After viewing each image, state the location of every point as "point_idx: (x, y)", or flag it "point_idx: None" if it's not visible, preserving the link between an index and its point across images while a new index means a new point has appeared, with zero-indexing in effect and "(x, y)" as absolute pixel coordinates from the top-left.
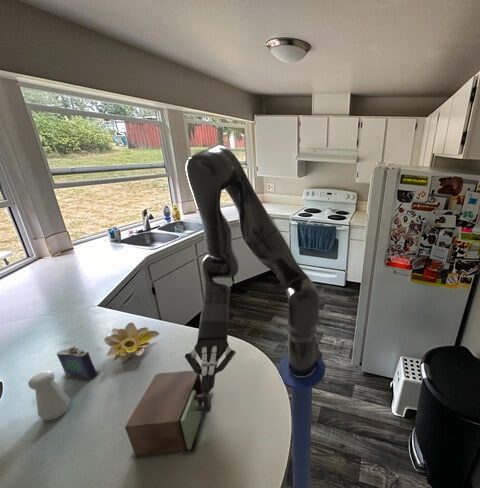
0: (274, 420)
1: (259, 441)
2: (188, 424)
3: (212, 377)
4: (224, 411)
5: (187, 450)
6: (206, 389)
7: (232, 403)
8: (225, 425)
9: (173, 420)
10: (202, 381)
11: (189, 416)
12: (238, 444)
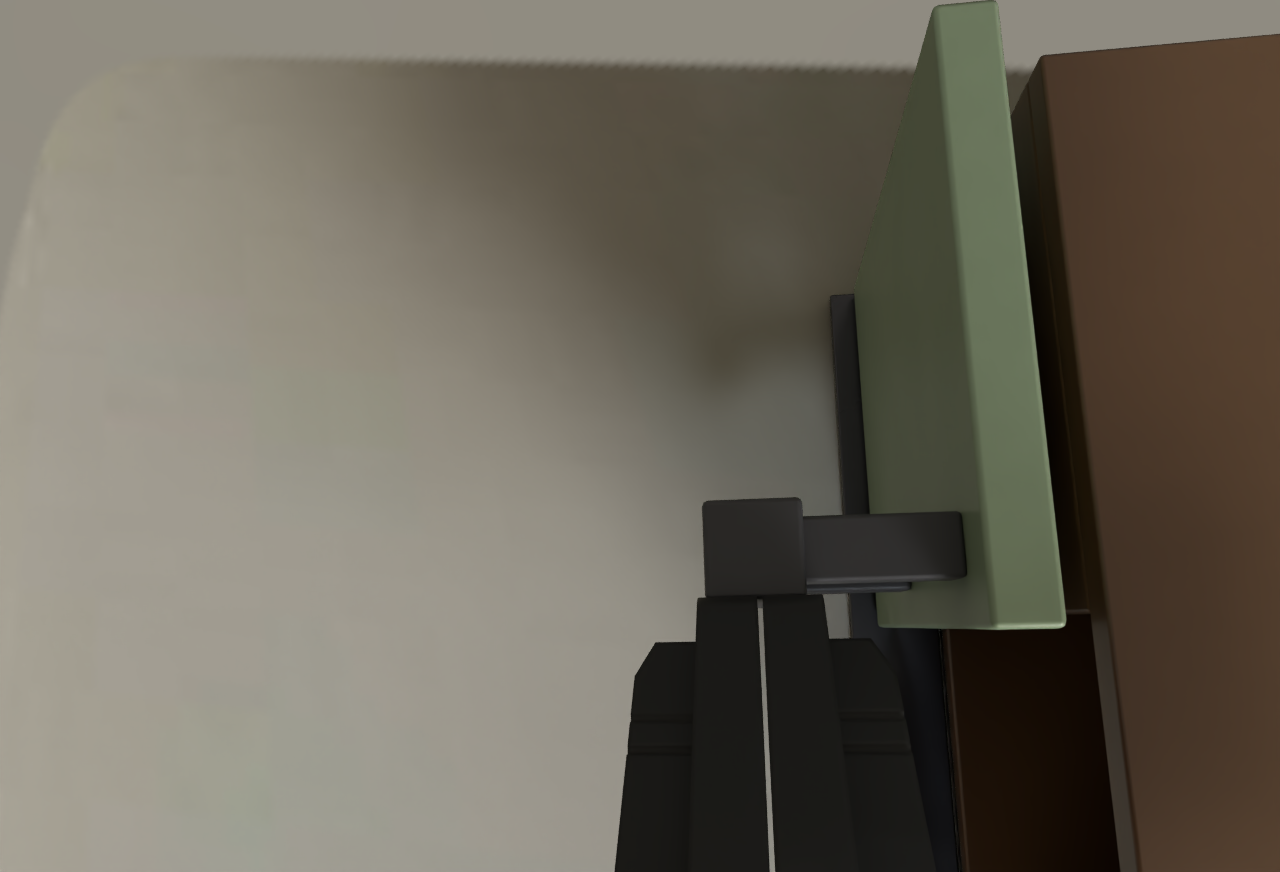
0: (76, 540)
1: (218, 347)
2: (901, 209)
3: (642, 854)
4: (626, 700)
5: None
6: (747, 616)
7: (552, 802)
8: (575, 527)
9: (1139, 62)
10: (893, 788)
11: (920, 253)
12: (408, 332)
